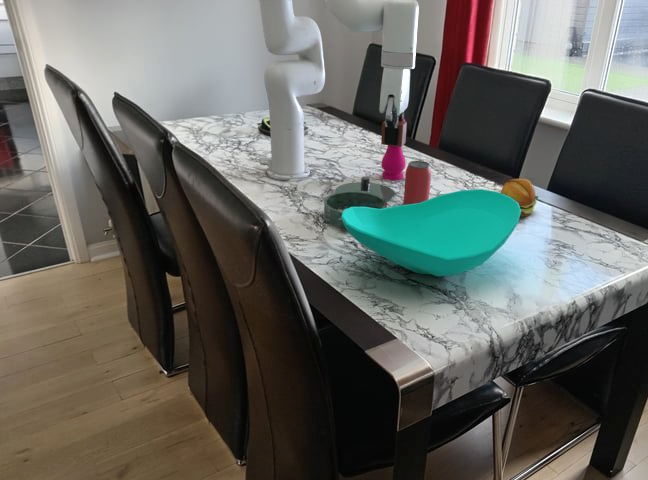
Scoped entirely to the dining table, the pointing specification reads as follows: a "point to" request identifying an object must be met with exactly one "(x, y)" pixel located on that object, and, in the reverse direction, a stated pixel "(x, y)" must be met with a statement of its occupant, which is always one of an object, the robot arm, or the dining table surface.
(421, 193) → the beer can
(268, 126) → the salad plate
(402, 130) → the dark brown block
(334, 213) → the pot
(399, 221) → the table top decor
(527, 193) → the cheeseburger
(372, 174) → the dining table surface
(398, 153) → the pepper mill
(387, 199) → the lid
